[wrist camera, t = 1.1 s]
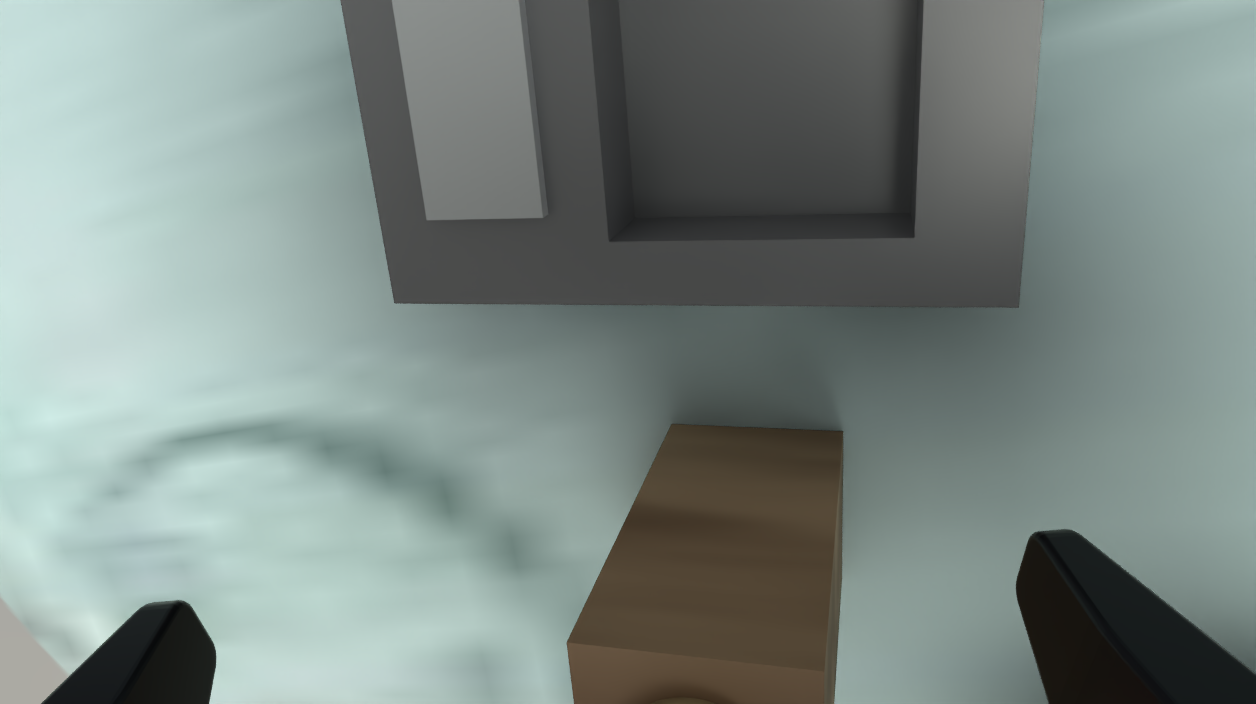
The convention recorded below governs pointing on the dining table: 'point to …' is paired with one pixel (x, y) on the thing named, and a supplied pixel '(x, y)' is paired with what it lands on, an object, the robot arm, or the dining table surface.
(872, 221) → the socket block
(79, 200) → the dining table surface
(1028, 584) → the robot arm
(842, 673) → the dining table surface
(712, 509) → the walnut plug
